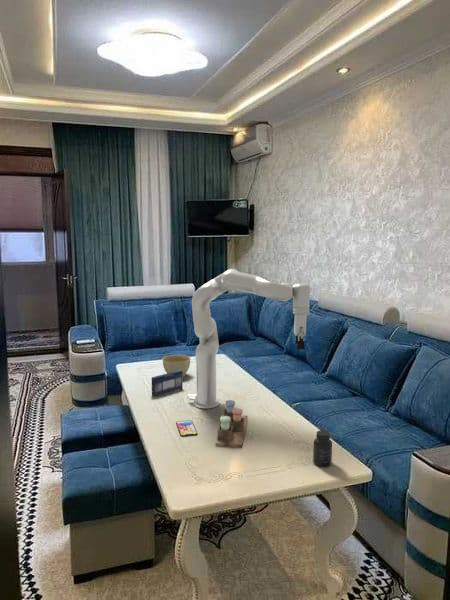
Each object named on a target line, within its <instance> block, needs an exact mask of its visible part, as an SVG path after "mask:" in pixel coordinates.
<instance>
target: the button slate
mask: <svg viewBox="0 0 450 600" xmlns="http://www.w3.org/2000/svg"><path fill="white" fill-rule="evenodd" d="M235 405H236V401H235V400H233V399H227V400H226V401H225V406H226V408H225V409H226V413H232V410H233V409H235Z"/></svg>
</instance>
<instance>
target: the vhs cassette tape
mask: <svg viewBox="0 0 450 600" xmlns="http://www.w3.org/2000/svg"><path fill="white" fill-rule="evenodd" d="M182 375H183V373H182V371H181V370H179V371H175V372H171V373H164V374H160V375H156V376H152V377H151V396H152V397H154V398H155V397H159V396H162V395H166V394H169V393H172V392H176V391H179V390H183V385H184V384H183V381H184V380H183V379H184V377H183V376H182Z"/></svg>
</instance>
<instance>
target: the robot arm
mask: <svg viewBox="0 0 450 600" xmlns="http://www.w3.org/2000/svg"><path fill="white" fill-rule="evenodd" d="M229 290H235V291H239V292H245V293H249V294H253V295H255V296H259V297H260V296H261V297H263V298H266V299H269V300H270V299H271V300H274V301H279V302H287V301H290V300H291V299H292V314H293V315H294V316H293V317H294V319H293V320H294V321H293V334H294V335H295V345H297V347H296V348H297V350H305V346H306V345H305V342H306V341H305V336H306V334H307V316H308V315H309V314H310V302H311V301H310V300H311V299H310V298H311V297H310V296H311V286H310V285H309V284H308V283H301V282H300V283H291V282H281V283H276V282H273V281H269V280H266V279H264V278H262V276H261V277H260V276H258V275H256V274H250V273H247V272H246V273H245V272H242V271H239V270H237V269H235V268H230V269H227V270H226V271H224V272H223V273H220V274H219V275H217V276H216V277H214V278H213V279H210V280H209V281H207V282H206V283H204V284H203V285H201V286H200V287H198V289H197V290H195V291H194V293H193V295H192V298H191V309H192V319H193V328H194V330H193V331H194V334H195V335H196V337H197V338H199V344H198V345H197V347H196V349H195V363H196V364H195V365H196V394H188V396H187V399H189V401H193V406H195V407H196V408H198V409H203V410H204V409H215V408H218V406H219V405H220V400H219V399H217V359H216V356H217V353H218V351H219V348H220V344H219V343H220V342H219V335H218V334H219V333H218V329H217V328H218V327H217V323H216V322H217V321H216V320H215V319H214V318H213V317H211V316H212V314H211V307H210V303H211V301H213V300H215V299H216V298H218V297H219V296H221V295H222V294H224V293H226V292H227V291H229Z"/></svg>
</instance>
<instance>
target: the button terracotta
mask: <svg viewBox="0 0 450 600" xmlns="http://www.w3.org/2000/svg"><path fill="white" fill-rule="evenodd" d="M232 413H233V422H241V416H242V414H243V409H242V408H239V407H236V408H235V407H234V409H233V410H232Z"/></svg>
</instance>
